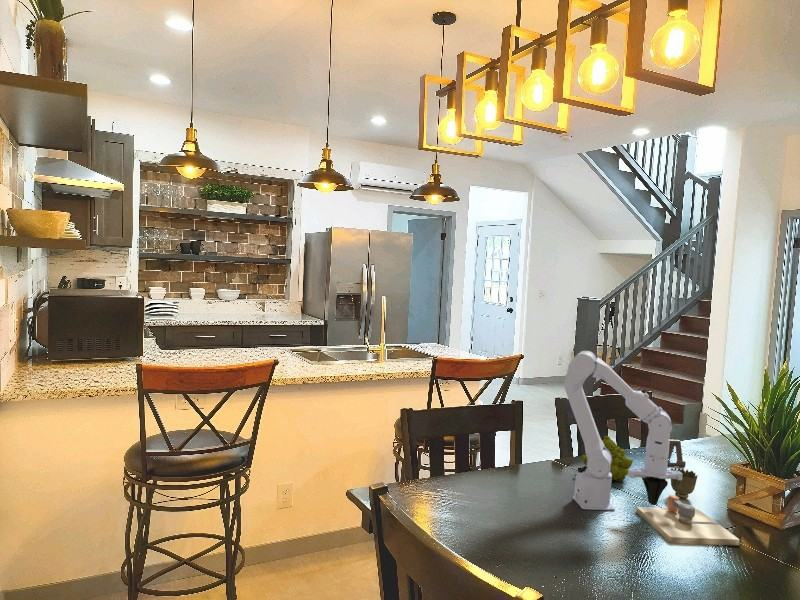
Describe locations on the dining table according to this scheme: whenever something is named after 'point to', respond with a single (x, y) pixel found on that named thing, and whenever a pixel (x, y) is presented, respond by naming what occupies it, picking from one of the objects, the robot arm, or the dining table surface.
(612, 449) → the vegetable
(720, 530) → the base
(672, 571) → the dining table surface
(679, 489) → the cup
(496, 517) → the dining table surface
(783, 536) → the dining table surface
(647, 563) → the dining table surface
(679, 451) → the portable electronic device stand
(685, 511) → the lock lever
